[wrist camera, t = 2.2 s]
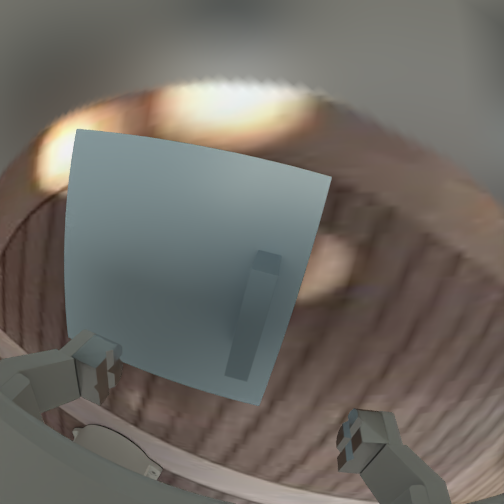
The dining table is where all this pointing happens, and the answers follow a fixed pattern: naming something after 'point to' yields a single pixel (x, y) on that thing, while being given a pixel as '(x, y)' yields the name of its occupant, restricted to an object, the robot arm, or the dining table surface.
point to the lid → (187, 256)
